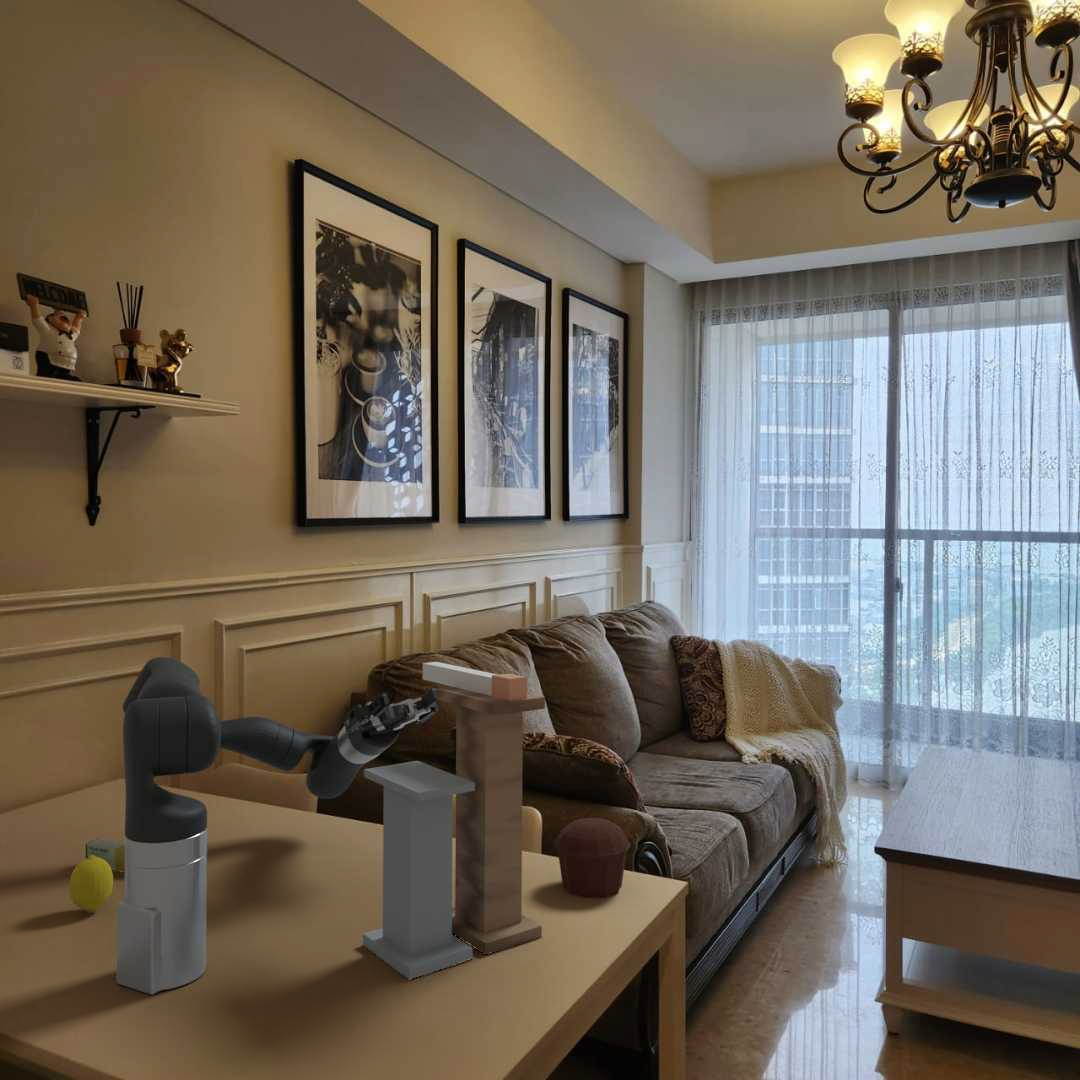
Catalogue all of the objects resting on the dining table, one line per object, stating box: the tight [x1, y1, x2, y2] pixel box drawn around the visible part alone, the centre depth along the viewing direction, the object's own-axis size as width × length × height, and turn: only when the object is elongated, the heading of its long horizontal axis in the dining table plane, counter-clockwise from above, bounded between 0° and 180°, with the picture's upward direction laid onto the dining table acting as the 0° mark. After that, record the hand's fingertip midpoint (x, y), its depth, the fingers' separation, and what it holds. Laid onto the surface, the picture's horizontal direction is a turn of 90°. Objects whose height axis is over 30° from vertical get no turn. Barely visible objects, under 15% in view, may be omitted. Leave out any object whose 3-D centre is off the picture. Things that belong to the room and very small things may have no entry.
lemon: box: [68, 855, 114, 914], centre depth 130 cm, size 6×6×8 cm
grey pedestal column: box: [362, 760, 475, 980], centre depth 118 cm, size 14×9×22 cm, turn 38°
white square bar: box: [422, 661, 528, 701], centre depth 128 cm, size 22×3×3 cm, turn 38°
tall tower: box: [436, 686, 546, 955], centre depth 125 cm, size 14×9×32 cm, turn 38°
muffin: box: [553, 817, 632, 899], centre depth 141 cm, size 12×11×10 cm
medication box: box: [85, 838, 125, 873], centre depth 147 cm, size 12×3×4 cm, turn 71°
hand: (411, 696), depth 141 cm, fingers open, 8 cm apart
